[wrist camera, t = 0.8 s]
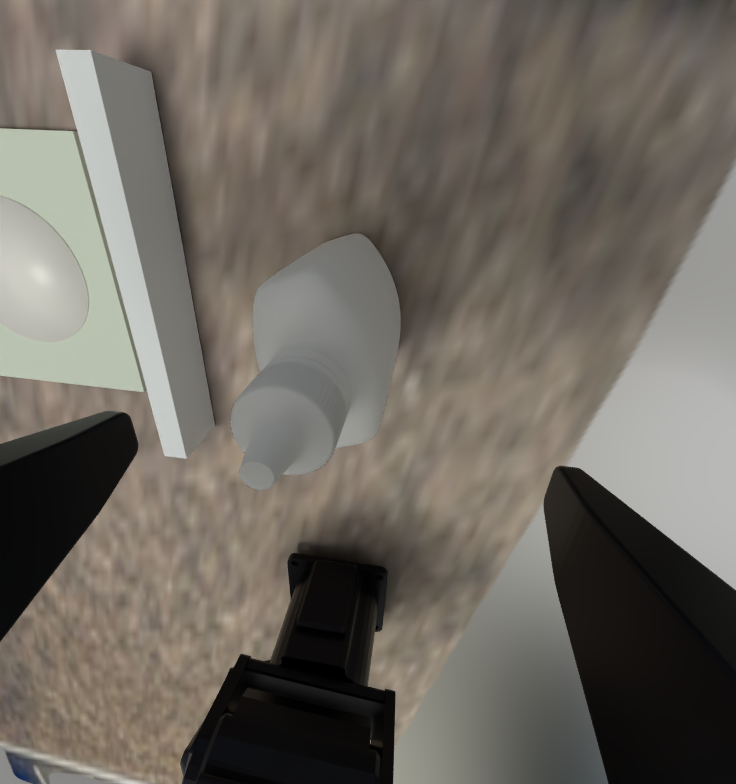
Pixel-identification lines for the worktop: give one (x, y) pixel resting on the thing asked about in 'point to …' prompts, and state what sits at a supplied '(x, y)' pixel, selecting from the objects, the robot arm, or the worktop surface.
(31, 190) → the pad
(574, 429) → the worktop surface
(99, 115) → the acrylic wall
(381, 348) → the eye dropper bottle
